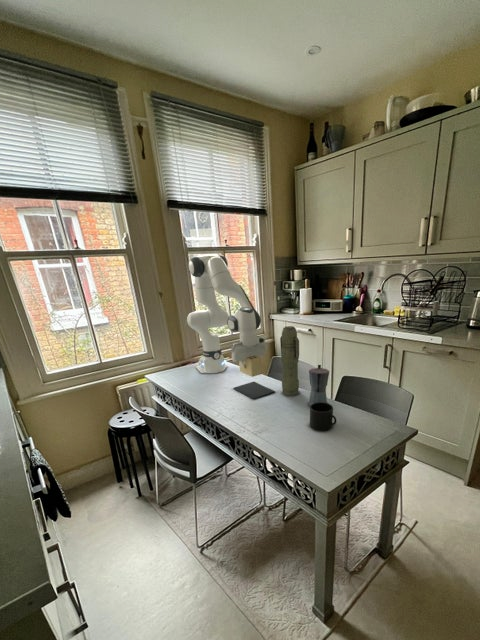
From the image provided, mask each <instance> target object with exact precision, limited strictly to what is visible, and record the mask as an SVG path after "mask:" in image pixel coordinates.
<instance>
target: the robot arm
mask: <svg viewBox="0 0 480 640" xmlns="http://www.w3.org/2000/svg"><path fill="white" fill-rule="evenodd" d="M188 270H189V273H190V275H191V276H192V277H194V286H195V287H194V288H195V295H196V300H197V302H198V303H199V304H201V305H203V306H206V307H207V309H205V310H196V311H192V312H189V313H188V315H187V317H186V322H187V325H188V327H189V328H190V329H192V330H193V331H195V332H196V333H197V334H198V336H199V337H200V340H201V344H202V356H201V357H200V358H199V360H198V362H197V363H198V365H196V367H195V368H196V369H197V370H198V371H199V373H200V374H217V373H222V372H224V371H226V369H227V367H228V366H227V364H226V362H227V360H226V359H225V356H224V355H223V351H222V348H221V341H220V337H219V335H217V334H216V333H214V332H211V331H210V329H213V328H221V327H224V326H227V328H228V329H229V331H231V332H232V333H239V342H236V343H233V344H232V345H231V348H230V351H231V360H232V361H233V362H234V363H239V361H240V363H241V364H242V368H246V365H245V364H244V363H243V362H244V360H246V359H247V358H250V357H255V356H258V357H260V358H261V357H263V356H266V355H267V353H268V348H267V343H266V338H265V337H262V336H259V335H258V334H257V330H258V329H259V327H260V325H261V324H262V319H261V316H260V313H258V311H257V310H256V308H255V307H254V305H253V304H252V301H251V300H250V298H249V297H248V295H247V293H246V291H245V290H244V288H243V286H241V284H239V283H238V282H237V281H235V279H234V278H233V276H232V274H231V272H230V270H229V263H228V259H227V257H226V256H225V255H223V254H219V253H217V254H204V255H198V256H196V255H195V256H192V257H190V258H189V260H188ZM216 293H218V294H219V295H220V296H221V295H222V296H226V297H228V298H229V297H230V298H233V299H235V300H236V301H237V302H238V303H239V305H240V306H241V308H238V311H236V312H234V313H231V314H230V315H229V313H228V311H227V310H225V309H224V308H222V307H221V306H220V305H219V303H218V301H217V298H216Z"/></svg>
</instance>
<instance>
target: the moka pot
mask: <svg viewBox="0 0 480 640" xmlns="http://www.w3.org/2000/svg"><path fill="white" fill-rule="evenodd" d="M329 376H330V370H329V369H327V368H323V367H322V365H321V364H317V367H313V368H311V369H309V370H308V377H309V385H310V393H309V401H308V405H309V406H311V405H312V404H314V403H320V402H322V403H328V398H327V386H328V382H329Z"/></svg>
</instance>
